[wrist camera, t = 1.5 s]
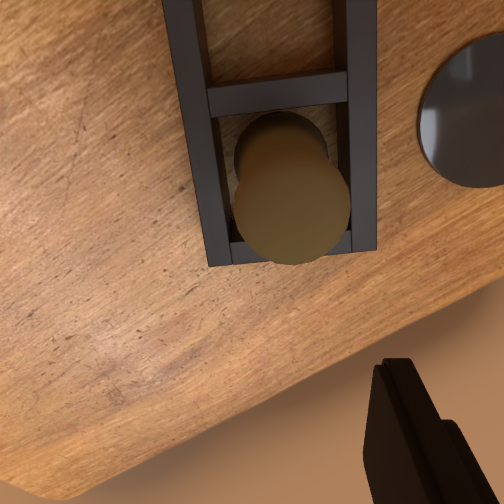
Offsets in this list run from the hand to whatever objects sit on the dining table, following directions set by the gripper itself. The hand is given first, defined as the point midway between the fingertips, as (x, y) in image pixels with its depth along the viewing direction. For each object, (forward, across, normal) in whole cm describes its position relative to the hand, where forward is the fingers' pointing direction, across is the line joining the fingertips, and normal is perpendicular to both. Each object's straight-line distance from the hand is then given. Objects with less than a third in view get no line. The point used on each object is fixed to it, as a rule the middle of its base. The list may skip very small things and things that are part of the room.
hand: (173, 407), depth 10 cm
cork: (+20, -3, -1) cm, 21 cm away
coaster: (+20, -16, -4) cm, 26 cm away
